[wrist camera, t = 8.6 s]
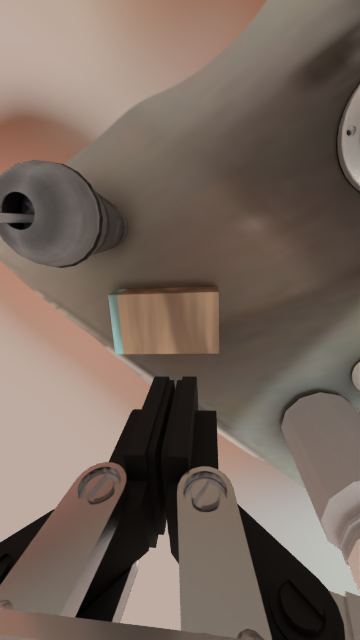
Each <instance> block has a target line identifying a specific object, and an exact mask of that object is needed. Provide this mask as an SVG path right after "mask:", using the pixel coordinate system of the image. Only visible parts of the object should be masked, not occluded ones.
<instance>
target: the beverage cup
mask: <svg viewBox="0 0 360 640" xmlns="http://www.w3.org/2000/svg"><path fill="white" fill-rule="evenodd" d="M127 232H128V225H127V220H126V218H125V216H124V215H123V214H122V213H121V212H120V211H119V210H118V209H117V208H116V207H115V206H114V205H113V204H111V203H110V202H109V201H107V200H106V199H105V198H103V197H102V196H101V195H99V194H98V193H97V192H95V190H94V189H93V188H92V186H91V184H90V183H89V182H88V181H87V180H86V179H85V178H84V177H83V176H82V175H81V174H80V173H79V172H77V171H75V170H74V169H72V168H70V167H68V166H66V165H64V164H59V163H53V162H45V161H39V160H32V161H28V162H23V163H18V164H15V165H13V166H12V167H11V168H10V169H8V170H6V171H5V172H3V173H2V174H1V175H0V236H1V237H2V239H3V240H4V242H6V243H7V244H8V245H9V246H10V247H11V248H12V249H13V250H14V251H15V252H16V253H17V254H19V255H21V256H23V257H25V258H27V259H29V260H31V261H33V262H35V263H38V264H43V265H47V266H53V267H59V268H64V267H70V266H75V265H77V264H79V263H81V262H82V261H84V260H86V259H87V258H88V257H89V256H91V255H93V254H96V253H99V252H102V251H105V250H109V249H112V248H114V247H116V246H118V245H120V244H121V243H122V242H123V241H124V240H125V238H126V236H127Z"/></svg>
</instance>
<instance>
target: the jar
mask: <svg viewBox="0 0 360 640" xmlns="http://www.w3.org/2000/svg"><path fill="white" fill-rule="evenodd" d="M281 429H282V431H283V434H284V437H285V440H286V442H287V445H288V447H289V450H290V452H291V454H292V457H293V459H294V461H295V464H296V466H297V469H298V471H299V473H300V476H301V478H302V480H303V483H304V485H305V488H306V490H307V492H308V495H309V497H310V499H311V502H312V504H313V507H314V509H315V511H316V514H317V516H318V518H319V521H320V523H321V525H322V528H323V530H324V532H325V535H326V537H327V540H328V541H329V542H330V543H332V544H333V545H334V546H336V547H337V548H339V549H340V550H341V551H342V554H343V557H344V560H345V562H346V564H347V565H349V567H350V570H351V573H352V576H353V579H354V581H355V583H356V585H357V588H358V590H359V592H360V412H359V410H358V409H357V408H356V407H355V406H353V405H352V404H351V403H350V402H348V401H347V400H346V399H344V398H343V397H342V396H340V395H333V394H327V393H321V392H320V393H316V394H313V395H309V396H306V397H302V398H300V399H299V400H298V401H296V402H295V403H294V404H293V405H292V406H291V407H290V408H289V409H288V410H286V412H285V415H284V419H283V422H282V426H281Z"/></svg>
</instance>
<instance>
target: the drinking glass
mask: <svg viewBox="0 0 360 640" xmlns="http://www.w3.org/2000/svg"><path fill="white" fill-rule="evenodd" d="M352 381H353V384H354V386H355V387H356V388H357V389H358V390H359V391H360V362H358V363H357V365H356V366H355V367H354V369H353V372H352Z"/></svg>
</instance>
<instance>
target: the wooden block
mask: <svg viewBox="0 0 360 640" xmlns="http://www.w3.org/2000/svg"><path fill="white" fill-rule="evenodd" d="M108 298H109V306H110V314H111V322H112V330H113V339H114V347H115V354H219V291H218V288H217V286H208V287H175V288H143V289H119V290H117V291H115V292H113V293H111V294H109V295H108Z"/></svg>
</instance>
